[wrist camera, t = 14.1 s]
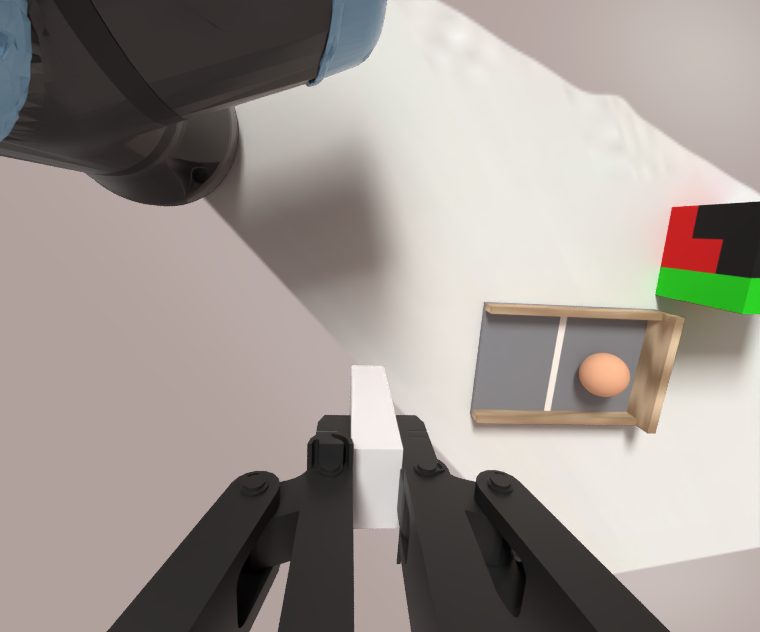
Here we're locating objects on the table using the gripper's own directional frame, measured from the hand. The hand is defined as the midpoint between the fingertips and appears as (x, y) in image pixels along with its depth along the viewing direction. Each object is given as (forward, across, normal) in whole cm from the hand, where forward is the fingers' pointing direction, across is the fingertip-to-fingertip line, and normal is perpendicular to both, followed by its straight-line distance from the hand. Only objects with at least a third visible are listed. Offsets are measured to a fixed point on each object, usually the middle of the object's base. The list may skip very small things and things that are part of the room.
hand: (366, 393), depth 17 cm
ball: (+21, +28, -7) cm, 36 cm away
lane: (+24, +25, -7) cm, 36 cm away
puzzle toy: (+25, +40, +7) cm, 48 cm away
